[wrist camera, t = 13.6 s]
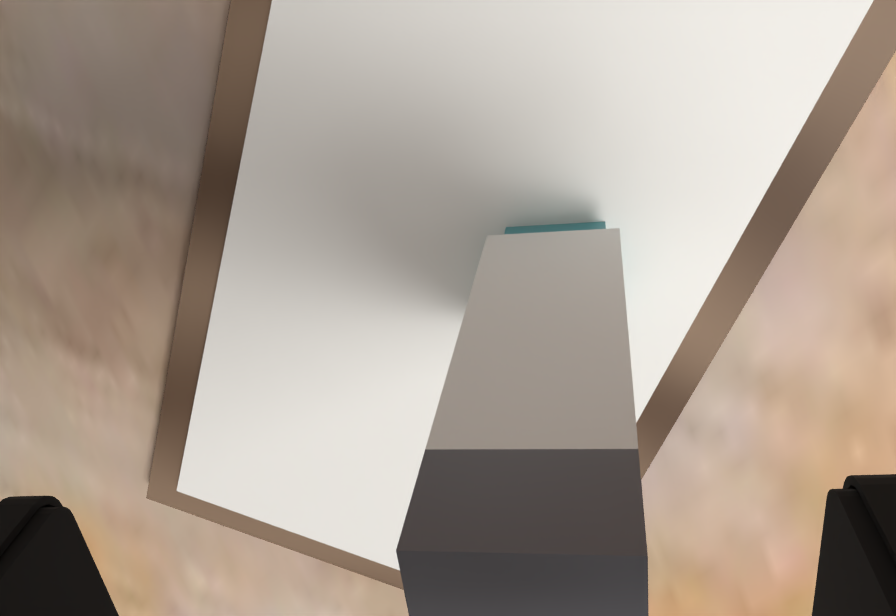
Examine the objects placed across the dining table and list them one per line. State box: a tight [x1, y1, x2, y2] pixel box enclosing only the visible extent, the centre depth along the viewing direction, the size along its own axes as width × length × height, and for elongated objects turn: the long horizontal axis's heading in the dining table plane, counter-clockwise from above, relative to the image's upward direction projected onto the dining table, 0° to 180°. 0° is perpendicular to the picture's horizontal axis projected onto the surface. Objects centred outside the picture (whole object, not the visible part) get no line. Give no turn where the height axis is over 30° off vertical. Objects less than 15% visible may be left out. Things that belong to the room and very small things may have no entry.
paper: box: [177, 0, 874, 570], centre depth 21 cm, size 20×12×1 cm, turn 162°
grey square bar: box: [396, 221, 648, 616], centre depth 15 cm, size 3×3×11 cm
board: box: [146, 0, 896, 590], centre depth 21 cm, size 22×14×1 cm, turn 162°
